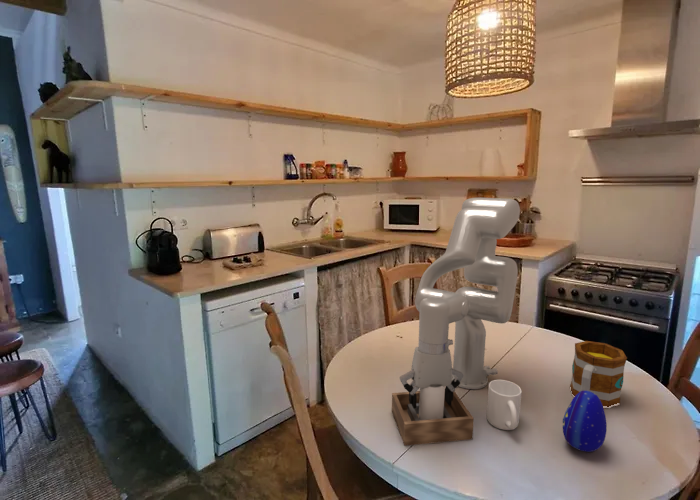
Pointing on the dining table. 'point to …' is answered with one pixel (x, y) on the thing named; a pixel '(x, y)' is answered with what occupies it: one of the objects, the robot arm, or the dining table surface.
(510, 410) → the mug
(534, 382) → the dining table surface
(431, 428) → the bin
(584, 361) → the mug
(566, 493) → the dining table surface
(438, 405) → the can
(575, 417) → the ornament
